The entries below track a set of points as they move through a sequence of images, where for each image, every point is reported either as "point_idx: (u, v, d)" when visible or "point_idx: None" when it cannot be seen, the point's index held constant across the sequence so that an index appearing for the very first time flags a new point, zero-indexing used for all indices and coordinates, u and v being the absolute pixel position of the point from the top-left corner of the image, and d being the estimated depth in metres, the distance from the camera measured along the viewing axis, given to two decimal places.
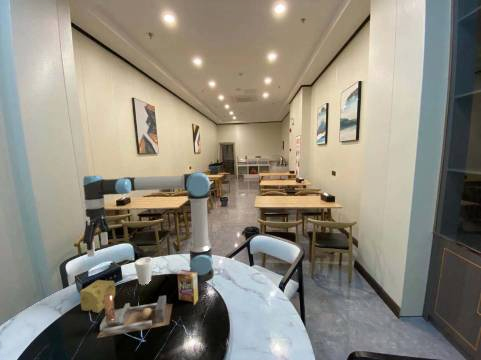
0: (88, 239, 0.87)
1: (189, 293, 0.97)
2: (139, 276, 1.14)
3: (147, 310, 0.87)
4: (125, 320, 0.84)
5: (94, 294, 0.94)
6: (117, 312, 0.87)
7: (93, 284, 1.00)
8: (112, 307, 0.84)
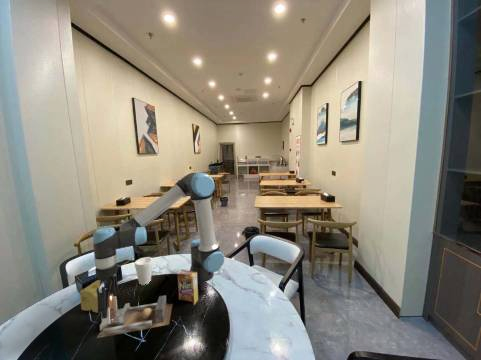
0: (103, 308, 0.77)
1: (189, 293, 0.97)
2: (139, 276, 1.14)
3: (147, 310, 0.87)
4: (125, 320, 0.84)
5: (94, 294, 0.94)
6: (117, 312, 0.87)
7: (93, 284, 1.00)
8: (112, 307, 0.84)
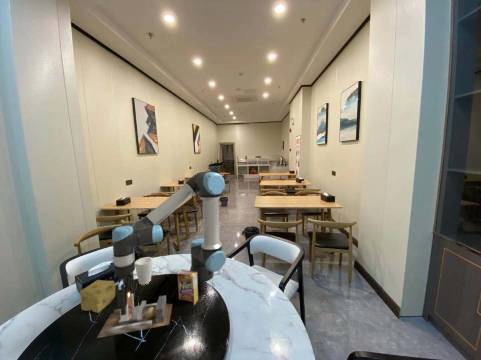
0: (122, 305, 0.79)
1: (189, 293, 0.97)
2: (139, 276, 1.14)
3: None
4: (142, 317, 0.85)
5: (94, 294, 0.94)
6: (134, 309, 0.89)
7: (93, 284, 1.00)
8: (130, 304, 0.85)
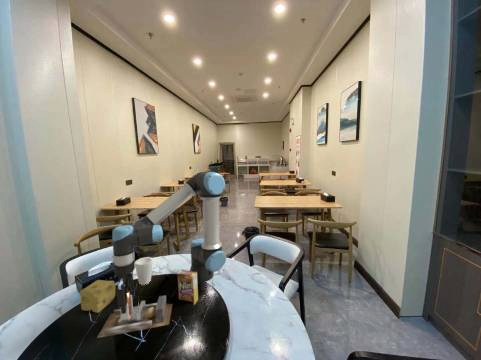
0: (123, 304, 0.80)
1: (189, 293, 0.97)
2: (139, 276, 1.14)
3: None
4: (142, 317, 0.85)
5: (94, 294, 0.94)
6: (133, 309, 0.89)
7: (93, 284, 1.00)
8: (129, 304, 0.85)
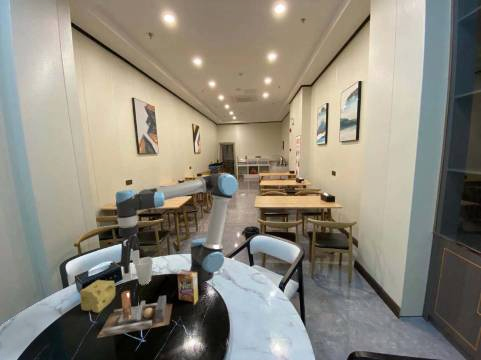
0: (126, 262, 0.79)
1: (189, 293, 0.97)
2: (139, 276, 1.14)
3: (150, 310, 0.87)
4: (142, 317, 0.85)
5: (94, 294, 0.94)
6: (133, 309, 0.89)
7: (93, 284, 1.00)
8: (129, 304, 0.85)
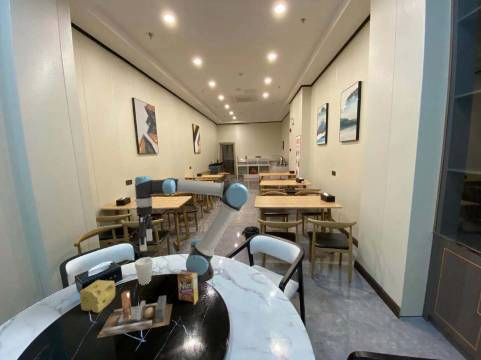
0: (142, 235, 0.95)
1: (189, 293, 0.97)
2: (139, 276, 1.14)
3: (152, 310, 0.87)
4: (142, 317, 0.85)
5: (94, 294, 0.94)
6: (133, 309, 0.89)
7: (93, 284, 1.00)
8: (129, 304, 0.85)
